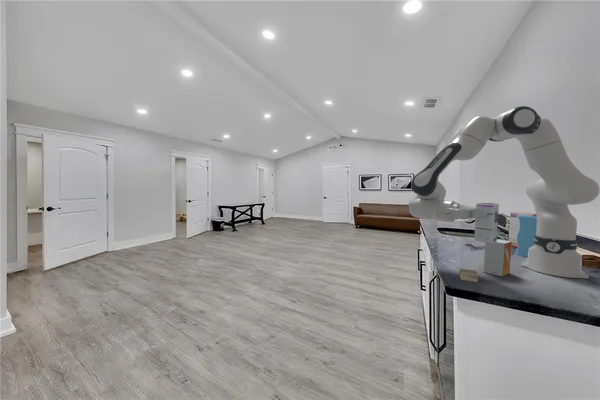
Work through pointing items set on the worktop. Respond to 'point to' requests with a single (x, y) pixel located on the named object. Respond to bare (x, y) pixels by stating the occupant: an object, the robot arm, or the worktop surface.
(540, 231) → the robot arm
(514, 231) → the cracker box
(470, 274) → the maple block
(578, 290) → the worktop surface
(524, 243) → the vase
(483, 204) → the syrup box
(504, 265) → the small box
